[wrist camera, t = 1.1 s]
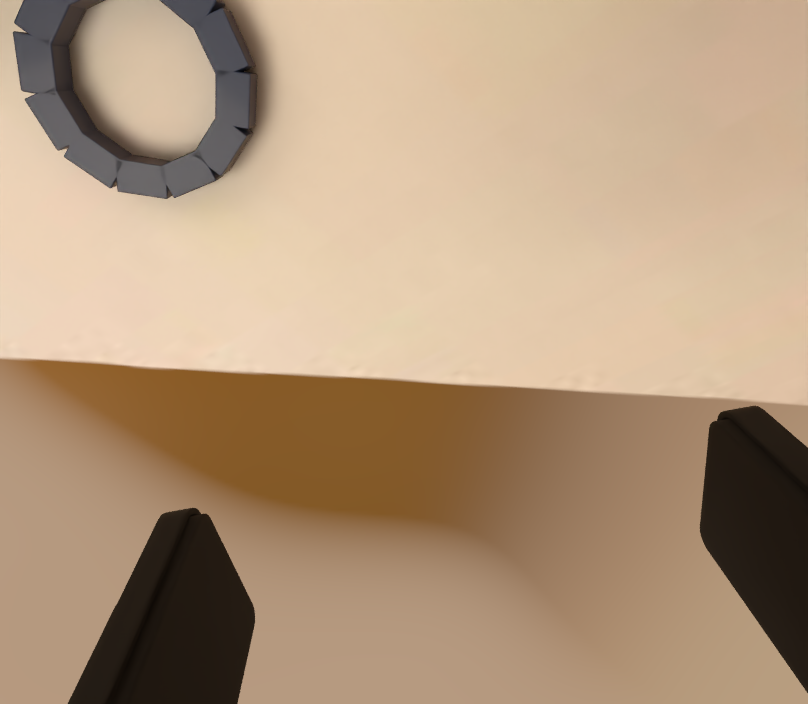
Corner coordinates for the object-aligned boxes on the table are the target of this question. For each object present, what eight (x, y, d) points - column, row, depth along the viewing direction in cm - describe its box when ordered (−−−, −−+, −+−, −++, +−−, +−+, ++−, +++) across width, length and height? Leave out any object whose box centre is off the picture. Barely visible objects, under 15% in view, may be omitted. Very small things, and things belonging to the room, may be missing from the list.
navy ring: (94, -110, 26) (75, -122, 24) (297, 65, 29) (292, 65, 28) (0, 98, 29) (-21, 100, 28) (191, 229, 33) (181, 237, 32)
